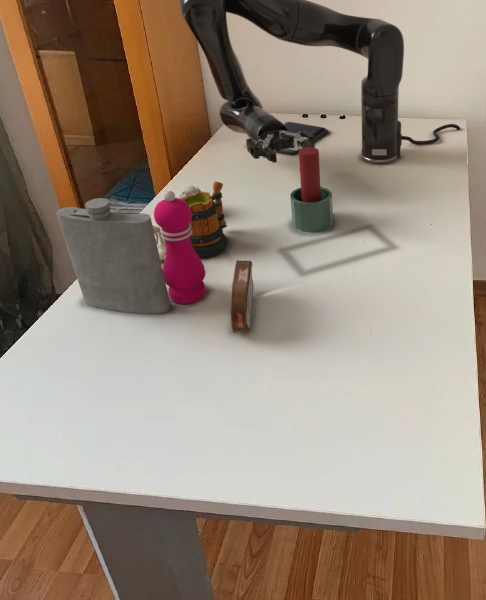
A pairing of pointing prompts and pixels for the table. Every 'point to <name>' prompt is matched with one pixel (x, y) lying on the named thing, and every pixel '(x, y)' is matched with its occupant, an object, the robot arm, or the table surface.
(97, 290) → the hip flask
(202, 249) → the mug
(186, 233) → the pepper mill
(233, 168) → the table surface
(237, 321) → the tin
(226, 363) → the table surface
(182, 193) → the frog figurine
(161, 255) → the bracelet
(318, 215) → the tumbler
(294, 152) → the wallet
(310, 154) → the candle
